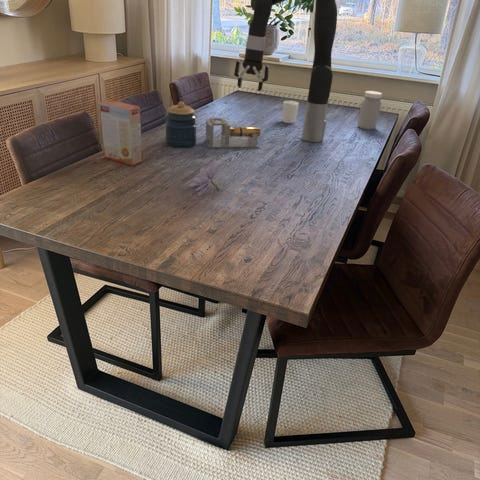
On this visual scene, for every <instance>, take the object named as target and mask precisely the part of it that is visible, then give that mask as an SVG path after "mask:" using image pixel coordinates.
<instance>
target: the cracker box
mask: <svg viewBox="0 0 480 480" xmlns="http://www.w3.org/2000/svg"><path fill="white" fill-rule="evenodd" d="M99 104H100V117H101V128H102V140H103V153H104V158H105V159H108V160H112V161H115V162H119V163H121V164H125V165H128V166H135V165H138V164H141V163H142V162H143V154H142V149H143V148H142V127H141V107H140V106H137V105H133V104H128V103H125V102H121V101H116V100H105V101H101V102H100V103H99Z"/></svg>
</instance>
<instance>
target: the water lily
mask: <svg viewBox="0 0 480 480" xmlns="http://www.w3.org/2000/svg"><path fill="white" fill-rule="evenodd" d="M216 163H217V159H216V157H214V159H213V161H212V163H210V164H209V165H208V167H207V168H206V167H205V166H202V167H201V168H200V169H199V173H200V175H201V177H194V178H193V179H192V180H193V182H192V183H190V184H188V187H197V186H198V187H197V188H196V189H195V192H198V191H199V192H198V193H197V196H198V195H199V196H198V197H197V198H199V197H200V196H202V195H203V193H205V191H206V190H208V187H209V186H210V183H211V184H212V185H213V186H214V188H216V189H217V191H220V190H221V189H220V187H218V186H217V184H216V183H215V182H213V179H214V178H215V176H216V175H217V172H218V171H219V168H220V164H218V165H217V166H216Z"/></svg>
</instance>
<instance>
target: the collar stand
mask: <svg viewBox="0 0 480 480" xmlns="http://www.w3.org/2000/svg"><path fill="white" fill-rule="evenodd" d="M205 119H206V118H205ZM216 121H220V122H216ZM214 126H221V129H220V130H221V136H220V138H214ZM230 127H231V124H230V123H229V122H228V121H227V119H223V118H222V117H209V118H207V119H206V120H205V138H204V142H205V143H206V144H205V145H206V146H207V147H208V149H259V148H260V146H259V145H258V142H259V140H258V139H259V137H258V134H252V137H247V138H230V136H229V135H230Z"/></svg>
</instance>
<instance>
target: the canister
mask: <svg viewBox="0 0 480 480" xmlns="http://www.w3.org/2000/svg"><path fill="white" fill-rule="evenodd" d="M166 109H167V110H166V111H167V113H165V115H164V118H166V120H165V143H166V145H168V146H169V147H172V148H179V149H186V148H188V149H189V148H193V147H194V146H195V145H196V142H197V123H196V119H197V114H195V112H196V110H195V109H194V108H192V106H189V105H186V104H185V102H183V101H181V100H180V101H178V103H177V104H174V105H171V106H169V107H168V108H166Z"/></svg>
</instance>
